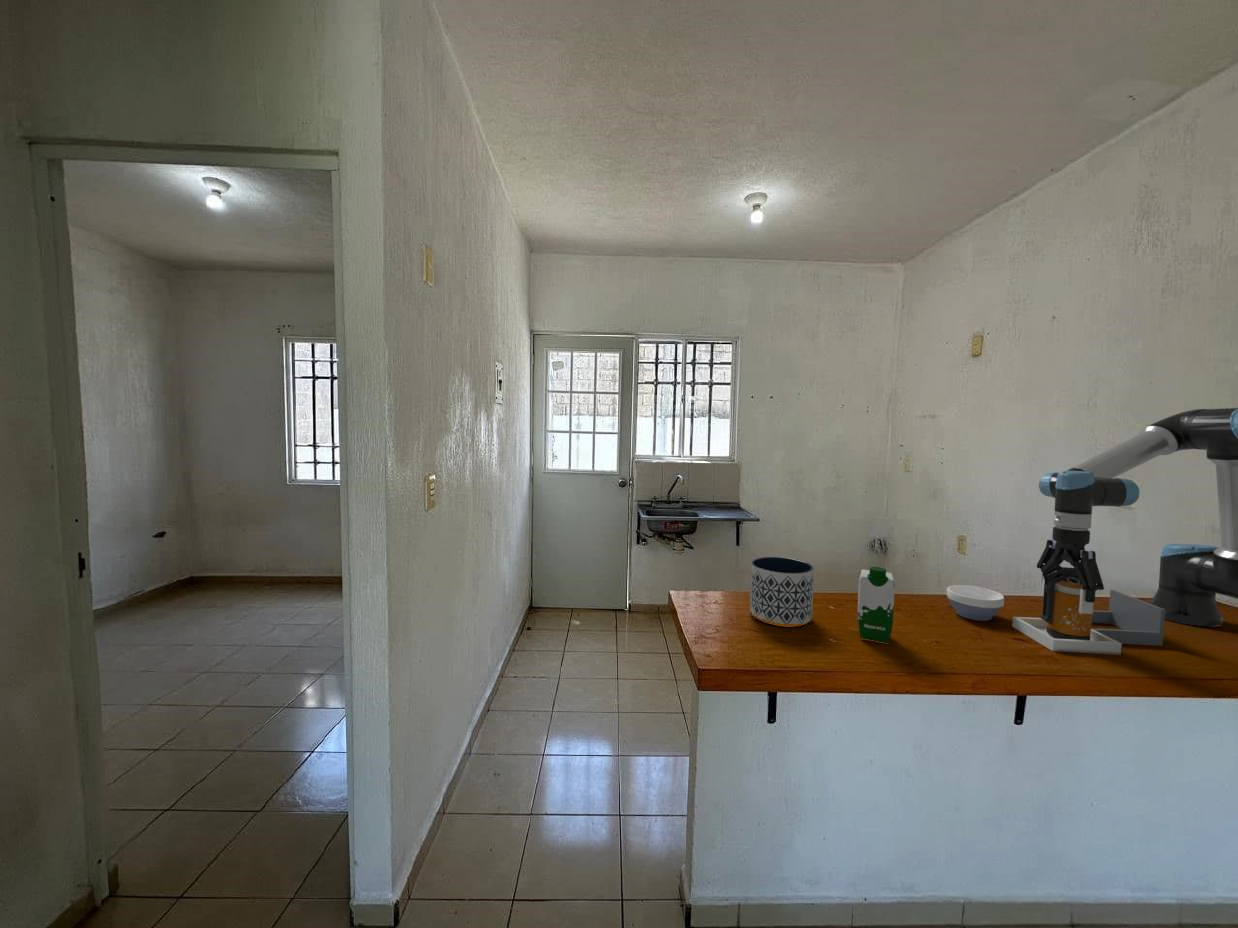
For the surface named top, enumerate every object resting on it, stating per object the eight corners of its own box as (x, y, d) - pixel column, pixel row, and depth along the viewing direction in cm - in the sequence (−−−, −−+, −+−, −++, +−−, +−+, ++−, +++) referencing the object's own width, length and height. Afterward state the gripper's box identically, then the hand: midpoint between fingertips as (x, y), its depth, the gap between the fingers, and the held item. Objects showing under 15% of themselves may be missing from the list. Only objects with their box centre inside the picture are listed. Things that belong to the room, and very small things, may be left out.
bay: (1111, 622, 149) (1114, 590, 149) (1162, 645, 134) (1165, 609, 133) (1053, 619, 151) (1055, 587, 151) (1096, 642, 136) (1099, 606, 135)
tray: (1072, 629, 144) (1073, 619, 144) (1120, 654, 128) (1121, 643, 128) (1012, 626, 146) (1012, 616, 146) (1052, 650, 130) (1053, 639, 130)
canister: (1098, 646, 132) (1104, 572, 130) (1050, 642, 134) (1056, 570, 132) (1074, 632, 140) (1080, 563, 139) (1030, 629, 143) (1035, 561, 141)
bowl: (951, 620, 150) (953, 596, 150) (941, 605, 164) (942, 582, 163) (1010, 628, 145) (1012, 603, 144) (994, 611, 158) (995, 588, 158)
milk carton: (856, 640, 136) (859, 569, 134) (856, 628, 144) (859, 561, 142) (893, 646, 132) (897, 573, 130) (890, 634, 140) (894, 564, 139)
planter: (769, 602, 165) (770, 553, 164) (822, 617, 152) (824, 565, 151) (738, 616, 153) (739, 563, 152) (793, 634, 140) (794, 577, 139)
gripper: (1024, 518, 147) (1020, 588, 149) (1094, 537, 123) (1087, 620, 124) (1052, 519, 147) (1047, 589, 148) (1127, 538, 122) (1120, 622, 123)
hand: (1065, 604), depth 136 cm, fingers open, 13 cm apart
